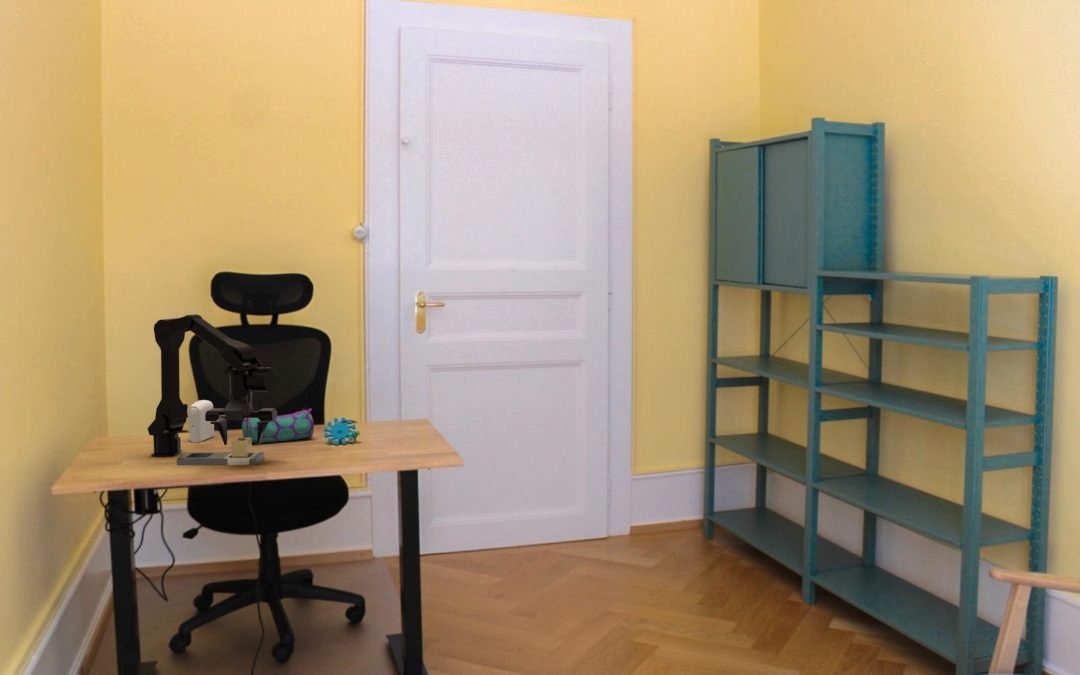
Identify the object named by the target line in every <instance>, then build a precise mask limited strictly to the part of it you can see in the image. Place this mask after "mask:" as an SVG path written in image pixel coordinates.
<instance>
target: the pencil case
mask: <svg viewBox="0 0 1080 675" xmlns="http://www.w3.org/2000/svg"><path fill="white" fill-rule="evenodd" d="M311 412H312V408H309V409H308V410H307V409H302V410H300V411H295V412H294V413H289V414H284V415H277V418H276V419H274V420H273V421H271V422H270V423H268V425H267V427H266V429H265V431H264V434H263V437H262V439H261V442H260V444H265V443H269V444H270V443H281V442H289V441H290V442H291V441H296V440H302V439H311V438H313V435H314V430H315V429H314V428H315V424H314V418H313V416H312V414H311ZM259 421H260V420H259V419H258V418H243V419H242V423H241V429H242V438H252V444H257V434H258V425H257V422H259Z"/></svg>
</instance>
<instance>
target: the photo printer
mask: <svg viewBox="0 0 1080 675" xmlns="http://www.w3.org/2000/svg"><path fill="white" fill-rule="evenodd" d="M188 408H189V409H188V430H189V431H188V432H189V436H188V437H189V441H190V442H191V443H200V442H203V441H206V440H208V439H210V438H212V437H214V436H215V425H214V424H210V422H211V421H205V413H206V412H207V411H208V410H210V409H212V408H214V405H213V402H212V401H211V400H207V399H201V400H200V399H199V400H197V401H195V402H194V403H192V404H191V405H190V406H189V407H188Z"/></svg>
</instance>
